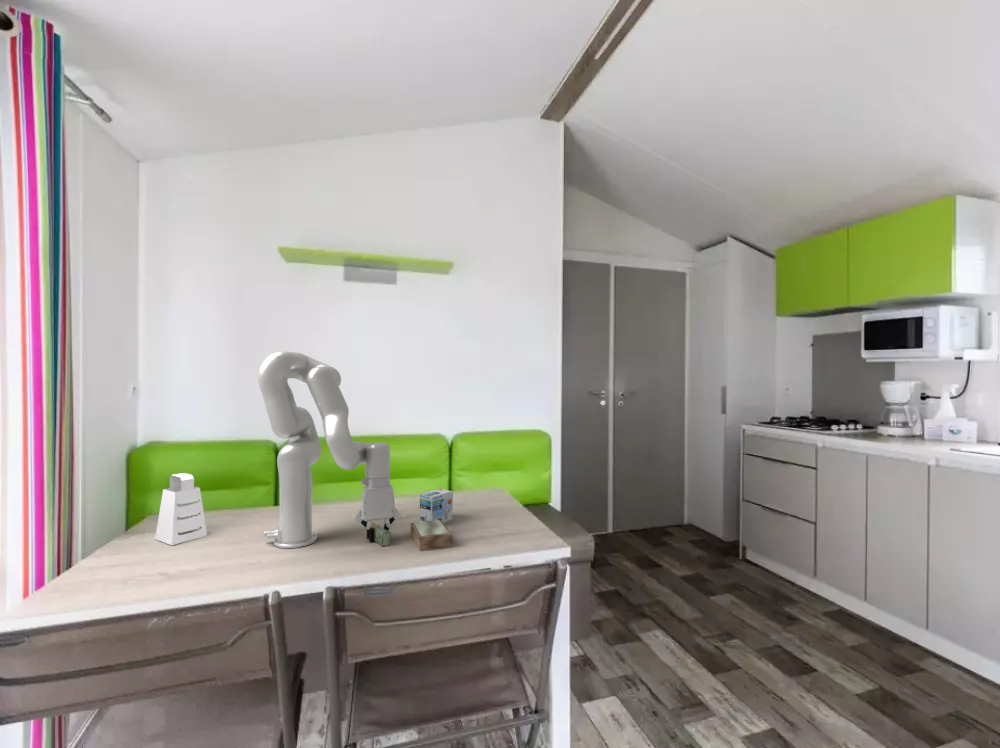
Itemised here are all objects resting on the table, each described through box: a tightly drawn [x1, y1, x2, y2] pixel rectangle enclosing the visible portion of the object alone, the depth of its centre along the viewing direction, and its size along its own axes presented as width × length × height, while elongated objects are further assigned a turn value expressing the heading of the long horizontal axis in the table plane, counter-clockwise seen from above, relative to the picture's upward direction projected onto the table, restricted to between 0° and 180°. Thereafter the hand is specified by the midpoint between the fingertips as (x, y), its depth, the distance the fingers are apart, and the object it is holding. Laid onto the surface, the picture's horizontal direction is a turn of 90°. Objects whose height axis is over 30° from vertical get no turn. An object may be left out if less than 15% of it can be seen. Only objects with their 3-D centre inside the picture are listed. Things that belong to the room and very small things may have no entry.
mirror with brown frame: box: [410, 520, 453, 552], centre depth 152 cm, size 10×15×4 cm, turn 21°
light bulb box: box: [419, 488, 454, 523], centre depth 171 cm, size 11×7×11 cm, turn 143°
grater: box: [154, 472, 208, 546], centre depth 154 cm, size 10×10×20 cm
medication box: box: [365, 522, 391, 547], centre depth 152 cm, size 12×3×4 cm, turn 40°
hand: (377, 538), depth 152 cm, fingers closed on medication box, 4 cm apart
